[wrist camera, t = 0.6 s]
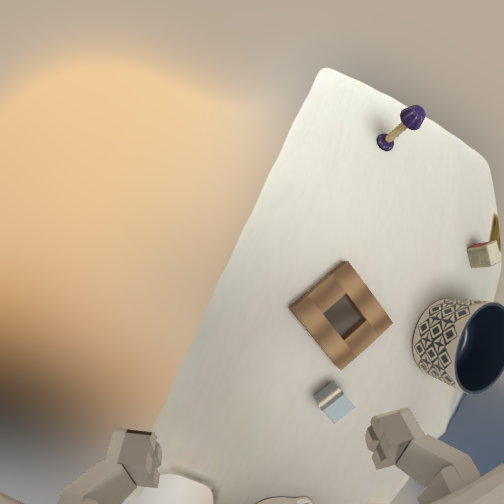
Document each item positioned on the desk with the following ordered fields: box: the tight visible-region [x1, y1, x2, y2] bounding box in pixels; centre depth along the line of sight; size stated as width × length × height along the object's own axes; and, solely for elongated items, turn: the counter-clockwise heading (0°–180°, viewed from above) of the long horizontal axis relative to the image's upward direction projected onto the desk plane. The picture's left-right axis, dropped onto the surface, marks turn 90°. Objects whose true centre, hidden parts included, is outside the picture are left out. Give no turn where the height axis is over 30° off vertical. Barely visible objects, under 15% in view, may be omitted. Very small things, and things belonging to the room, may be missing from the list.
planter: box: [413, 298, 504, 394], centre depth 50 cm, size 18×18×16 cm
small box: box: [467, 241, 501, 268], centre depth 56 cm, size 5×4×8 cm
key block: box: [314, 381, 355, 424], centre depth 53 cm, size 5×5×8 cm
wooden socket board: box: [289, 261, 393, 370], centre depth 56 cm, size 16×14×3 cm
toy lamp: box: [377, 105, 425, 151], centre depth 53 cm, size 5×5×17 cm
